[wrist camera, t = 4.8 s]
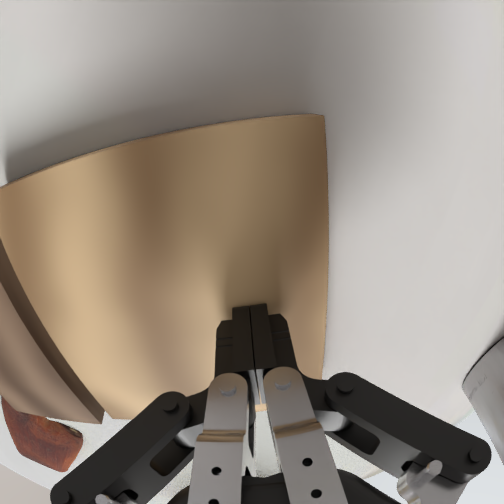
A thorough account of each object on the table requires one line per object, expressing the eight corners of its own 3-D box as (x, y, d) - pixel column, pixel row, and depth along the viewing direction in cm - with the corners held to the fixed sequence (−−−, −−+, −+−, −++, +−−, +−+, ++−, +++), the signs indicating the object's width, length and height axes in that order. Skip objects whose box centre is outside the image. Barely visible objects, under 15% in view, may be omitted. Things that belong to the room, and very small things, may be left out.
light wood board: (311, 113, 10) (324, 115, 9) (313, 382, 18) (319, 400, 17) (4, 185, 10) (-14, 195, 8) (116, 402, 17) (112, 418, 16)
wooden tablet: (1, 381, 18) (-5, 394, 16) (88, 428, 21) (85, 442, 20) (14, 447, 27) (12, 454, 25) (66, 472, 30) (64, 480, 29)
